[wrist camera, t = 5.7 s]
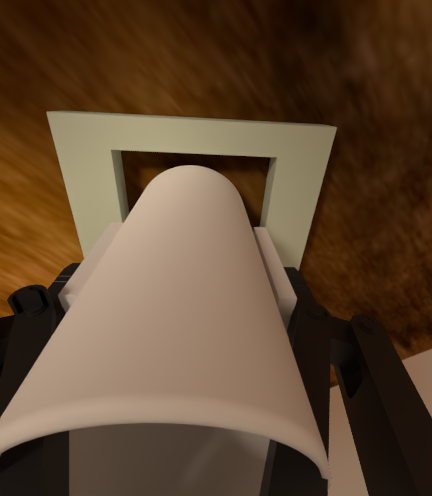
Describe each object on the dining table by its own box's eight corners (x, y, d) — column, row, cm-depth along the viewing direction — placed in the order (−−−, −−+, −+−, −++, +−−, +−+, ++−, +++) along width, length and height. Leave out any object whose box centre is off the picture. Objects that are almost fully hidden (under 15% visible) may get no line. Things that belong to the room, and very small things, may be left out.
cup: (259, 239, 21) (358, 514, 7) (173, 274, 22) (121, 552, 9) (218, 144, 17) (268, 359, 3) (116, 194, 18) (-134, 480, 5)
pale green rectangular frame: (102, 285, 24) (95, 299, 23) (62, 110, 17) (46, 111, 15) (284, 289, 25) (289, 303, 24) (324, 124, 18) (336, 127, 16)
